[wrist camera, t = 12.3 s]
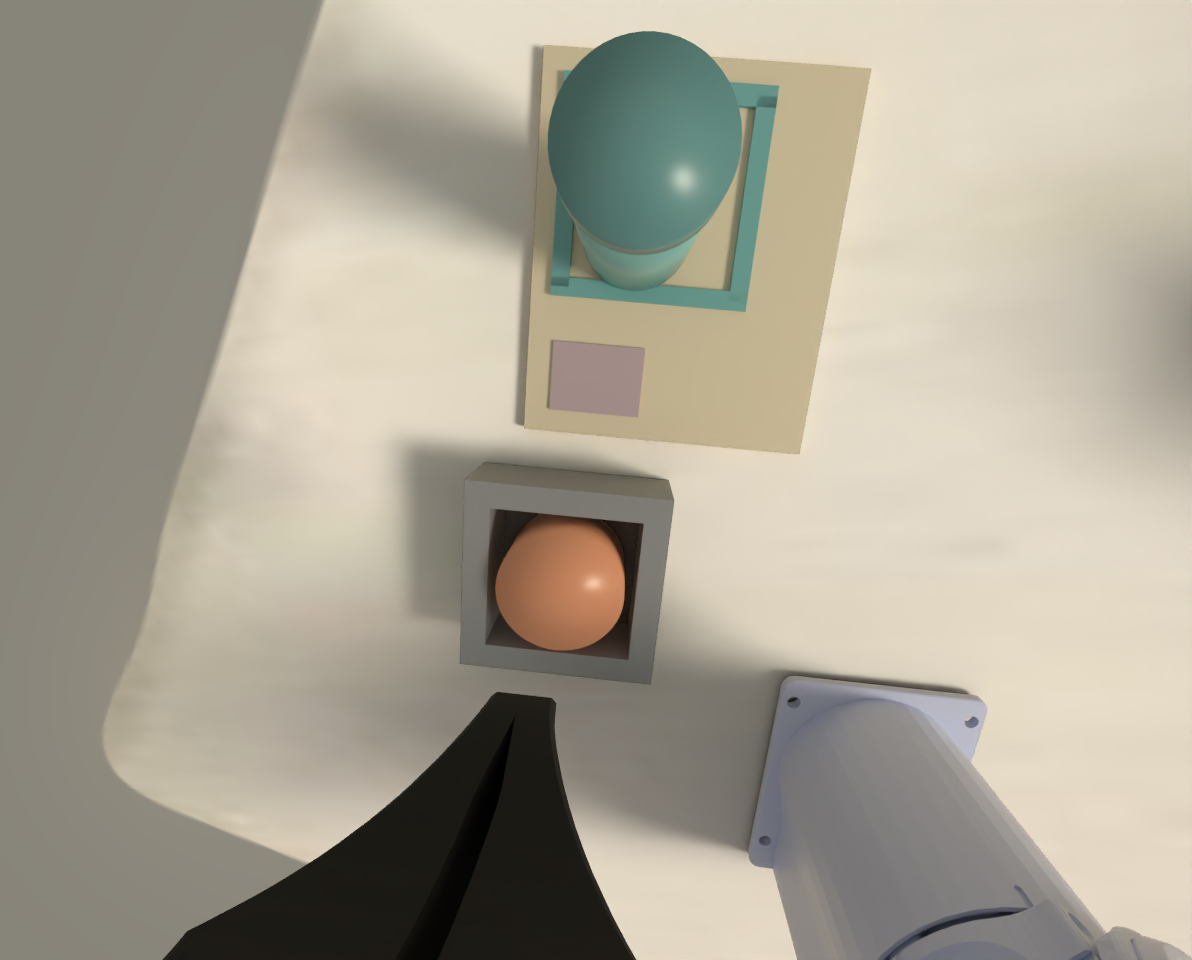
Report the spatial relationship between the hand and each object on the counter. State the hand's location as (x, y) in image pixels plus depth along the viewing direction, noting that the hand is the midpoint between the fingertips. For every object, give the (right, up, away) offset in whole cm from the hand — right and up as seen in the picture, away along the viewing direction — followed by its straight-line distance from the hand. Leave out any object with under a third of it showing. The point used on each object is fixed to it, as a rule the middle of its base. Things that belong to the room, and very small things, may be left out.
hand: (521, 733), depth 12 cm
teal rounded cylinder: (+3, +14, +6) cm, 15 cm away
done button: (+1, +2, +9) cm, 9 cm away
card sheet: (+5, +13, +7) cm, 15 cm away
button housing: (+1, +2, +10) cm, 10 cm away
